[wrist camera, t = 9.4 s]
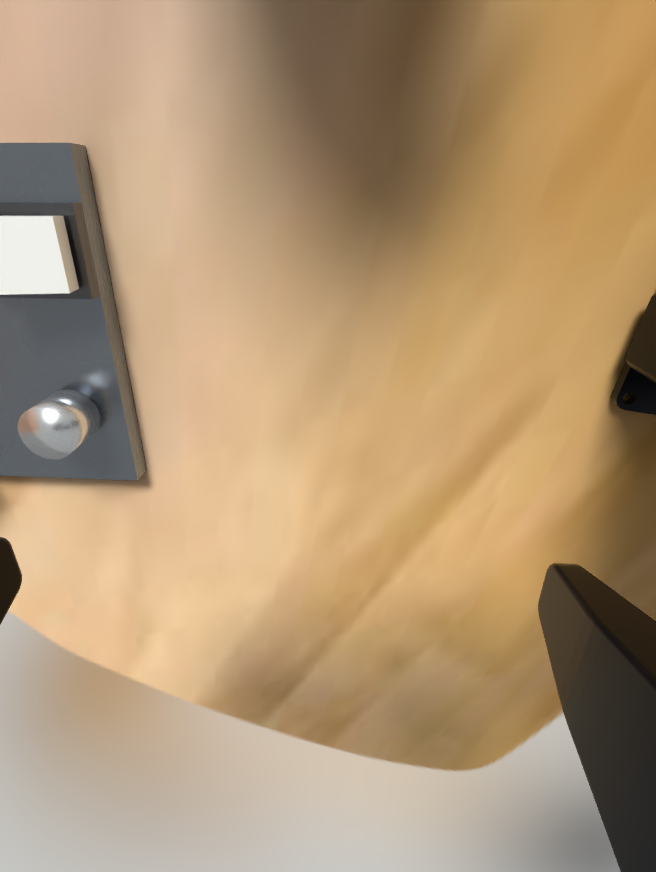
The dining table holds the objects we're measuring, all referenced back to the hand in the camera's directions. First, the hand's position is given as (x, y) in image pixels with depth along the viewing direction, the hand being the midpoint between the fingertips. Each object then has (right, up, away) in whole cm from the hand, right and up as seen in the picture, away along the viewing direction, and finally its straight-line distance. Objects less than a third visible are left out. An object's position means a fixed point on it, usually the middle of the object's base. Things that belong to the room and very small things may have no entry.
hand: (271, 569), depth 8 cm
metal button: (-10, +3, +12) cm, 16 cm away
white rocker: (-10, +9, +9) cm, 16 cm away
